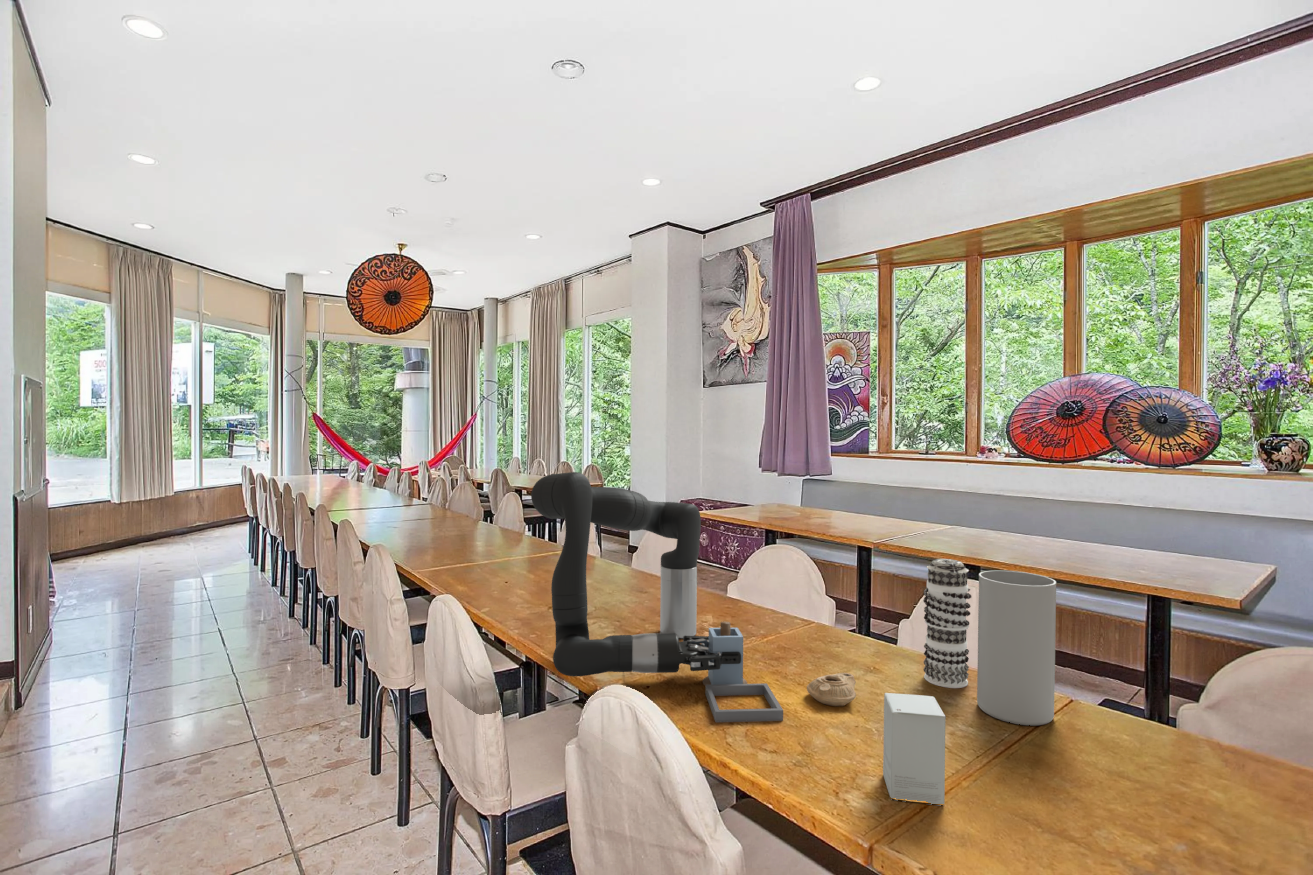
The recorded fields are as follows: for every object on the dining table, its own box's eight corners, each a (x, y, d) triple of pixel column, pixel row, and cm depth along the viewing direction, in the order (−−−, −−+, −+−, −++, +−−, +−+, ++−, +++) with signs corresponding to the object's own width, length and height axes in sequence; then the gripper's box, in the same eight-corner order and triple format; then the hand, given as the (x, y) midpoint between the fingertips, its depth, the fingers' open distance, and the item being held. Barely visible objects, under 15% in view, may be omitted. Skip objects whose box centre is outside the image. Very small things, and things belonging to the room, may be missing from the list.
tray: (705, 698, 125) (705, 684, 125) (766, 697, 126) (766, 683, 126) (715, 727, 113) (715, 711, 113) (783, 725, 114) (783, 710, 114)
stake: (699, 678, 135) (700, 616, 135) (742, 677, 136) (743, 616, 136) (706, 696, 126) (706, 630, 126) (751, 695, 127) (752, 629, 127)
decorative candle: (976, 679, 136) (978, 560, 135) (961, 692, 129) (963, 567, 129) (931, 668, 142) (933, 554, 142) (915, 680, 135) (917, 560, 135)
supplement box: (945, 807, 90) (947, 716, 90) (889, 800, 91) (890, 711, 91) (934, 779, 97) (935, 695, 97) (882, 773, 98) (883, 690, 98)
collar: (708, 675, 134) (708, 627, 134) (736, 675, 134) (737, 627, 134) (712, 687, 128) (713, 637, 128) (742, 687, 128) (743, 636, 128)
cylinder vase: (1026, 733, 112) (1028, 589, 112) (962, 705, 123) (964, 574, 123) (1069, 718, 118) (1071, 581, 117) (1004, 693, 129) (1006, 568, 128)
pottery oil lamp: (871, 695, 127) (877, 670, 123) (836, 732, 120) (841, 706, 116) (833, 668, 132) (838, 643, 129) (797, 702, 125) (801, 677, 122)
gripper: (657, 646, 123) (745, 645, 124) (652, 623, 137) (731, 622, 138) (657, 685, 123) (744, 684, 124) (652, 658, 137) (730, 657, 138)
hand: (737, 651), depth 131 cm, fingers closed on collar, 6 cm apart
